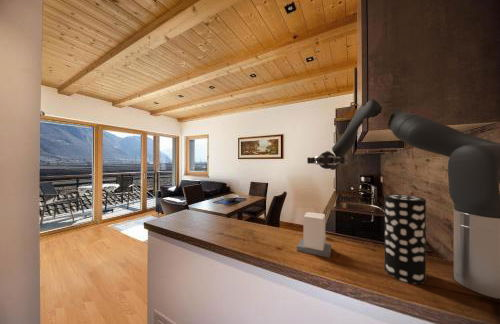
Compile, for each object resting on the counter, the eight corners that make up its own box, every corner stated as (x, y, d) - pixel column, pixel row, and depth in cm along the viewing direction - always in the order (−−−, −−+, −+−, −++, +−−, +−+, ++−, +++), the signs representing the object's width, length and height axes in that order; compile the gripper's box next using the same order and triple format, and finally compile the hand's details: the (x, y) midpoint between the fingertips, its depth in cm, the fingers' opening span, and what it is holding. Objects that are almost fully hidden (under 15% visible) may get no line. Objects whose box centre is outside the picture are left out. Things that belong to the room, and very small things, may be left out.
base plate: (331, 248, 64) (331, 229, 64) (329, 257, 58) (329, 236, 58) (301, 242, 69) (301, 224, 69) (296, 250, 62) (296, 231, 62)
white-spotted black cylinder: (426, 288, 44) (426, 202, 44) (382, 274, 49) (382, 197, 49) (424, 272, 50) (425, 196, 50) (386, 261, 55) (386, 193, 55)
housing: (325, 243, 64) (325, 214, 64) (323, 250, 59) (322, 218, 59) (307, 240, 67) (306, 211, 67) (303, 247, 62) (303, 216, 62)
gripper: (311, 152, 91) (305, 151, 76) (344, 151, 84) (344, 149, 70) (311, 168, 91) (305, 169, 76) (344, 168, 84) (344, 170, 70)
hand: (324, 160), depth 73 cm, fingers open, 8 cm apart
